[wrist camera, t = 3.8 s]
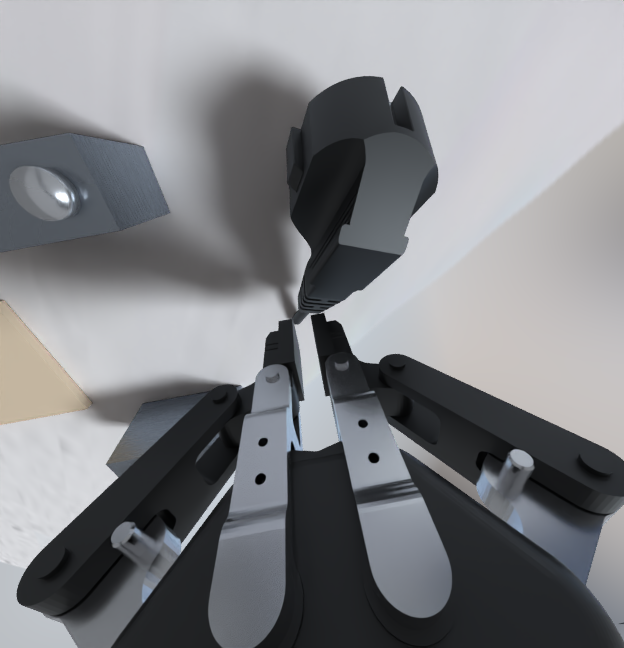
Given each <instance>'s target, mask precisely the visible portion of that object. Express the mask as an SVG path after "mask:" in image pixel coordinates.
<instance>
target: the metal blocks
mask: <svg viewBox="0 0 624 648" xmlns="http://www.w3.org/2000/svg"><path fill="white" fill-rule="evenodd" d="M169 213H170V211H169V208H168V206H167V203H166V201H165V199H164V196H163V194H162V191H161V189H160V186H159V184H158V181H157V179H156V177H155V174H154V172H153V169H152V167H151V164H150V162H149V160H148V157H147V155H146V152H145V150H144V147H142V146H137V145H132V144H126V143H121V142H116V141H110V140H105V139H100V138H94V137H89V136H84V135H78V134H73V133H65V134H59V135H54V136H48V137H43V138H37V139H32V140H26V141H21V142H15V143H10V144H4V145H0V252H5V251H11V250H16V249H22V248H27V247H33V246H38V245H44V244H49V243H55V242H60V241H66V240H71V239H77V238H82V237H88V236H93V235H98V234H104V233H109V232H115V231H120V230H123V229H126V228H129V227H132V226H134V225H137V224H140V223H143V222H146V221H149V220H151V219H154V218H157V217H160V216H163V215H166V214H169ZM236 388H237V390H240V389H242V387H241V386H236ZM209 392H210V391H209ZM209 392H204V393H198V394H193V395H187V396H182V397H176V398H171V399H165V400H160V401H155V402H149V403H144V404H142V406H141V408H140V409H139V411H138V412H137V414H136V416H135V417H134V419H133V421H132V422H131V424H130V426H129V427H128V429H127V430H126V432H125V434H124V435H123V437H122V439H121V440H120V442H119V444H118V445H117V447H116V448H115V450H114V452H113V453H112V455H111V457H110V458H109V460H108V462H107V463H106V465H107V466H108V467H109V468H110V469H111V470H112V471H113V472H114V473H115V474H116V475H117V476H118V477H120V476H121V475H122V474H123V473H124V472H125V471H126V470H127V469H128V468H129V467H130V466H131V465H132V464H133V463H135V462H136V461H137V460H138V459H139V458H140V457H141V456H142V455H143V454H144V453H145V452H146V451H147V450H148V449H149V448H150V447H151V446H152V445H154V444H155V443H156V442H157V441H158V440H159V439H160V438H161V437H162V436H163V435H164V434H165V433H166V432H167V431H168V430H169V429H170V428H172V427H173V426H174V425H175V424H176V423H177V422H178V421H179V420H180V419H181V418H182V417H183V416H184V415H185V414H186V413H187V412H188V411H189V410H191V409H192V408H193V407H194V406H195V405H196V404H197V403H198V402H199V401H200V400H201V399H202V398H203V397H204V396H205V395H206V394H207V393H209ZM218 437H219V435H218V434H217V435H216V436H215V437H214V438H213V439H212V441H211V442H210V443H209V444H208V445H207V446H206V447H205V448H204V450H203V451H202V452H201V453H200V454H199V456H198V458H197V460H196V462H197V461H198V460H199V459H200V458H201V457H202V455H203V454H204V453H205V452H206V451H207V450H208V449H209V447H210V446H211V445H212V444H213V443H214V442H215V440H216V439H217V438H218Z"/></svg>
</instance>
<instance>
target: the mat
mask: <svg viewBox="0 0 624 648" xmlns="http://www.w3.org/2000/svg"><path fill="white" fill-rule="evenodd" d="M91 404H92V402H91V401H90V400H89V398H88V397H87V396H86V395H85V394H84V393H83V391H82V390H81V389H80V388H79V387H78V386H77V384H76V383H75V382H74V381H73V380H72V379H71V378H70V376H69V375H68V374H67V373H66V372H65V371H64V369H63V368H62V367H61V366H60V365H59V364H58V362H57V361H56V360H55V359H54V358H53V357H52V355H51V354H50V353H49V352H48V351H47V350H46V349H45V347H44V346H43V345H42V344H41V343H40V342H39V340H38V339H37V338H36V337H35V336H34V335H33V333H32V332H31V331H30V330H29V329H28V328H27V326H26V325H25V324H24V323H23V322H22V321H21V320H20V318H19V317H18V316H17V315H16V314H15V313H14V311H13V310H12V309H11V308H10V307H9V306H8V304H7V303H6V302H5V301H4V300H3V301H0V425H3V424H9V423H14V422H20V421H25V420H31V419H36V418H41V417H47V416H52V415H58V414H63V413H69V412H74V411H80V410H85V409H88V408H89V407H90V405H91Z"/></svg>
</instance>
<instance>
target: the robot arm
mask: <svg viewBox="0 0 624 648" xmlns="http://www.w3.org/2000/svg"><path fill="white" fill-rule="evenodd" d="M311 321H312V326H313V332H314V337H315V343H316V348H317V353H318V359H319V364H320V369H321V374H322V380H323V384H324V390H325V395H326V396H330V398H331V403H332V409H333V414H334V418H335V424H336V428H337V433H338V438H339V442H338V443H336V444H333V445H331V446H329V447H327V448H324V449H322V450H320V451H315V452H313V451H303V449H302V434H301V419H300V413H299V408H300V407H299V401H303V400H304V391H303V380H302V369H301V358H300V350H299V344H298V340H297V335H296V331H295V326H294V322H293V319H288V320H283V321H279V329H278V331H274V332H270V334H269V335H268V336H267V338H266V343H265V353H264V363H263V369H262V370H261V371H260V372H259V373H258V374H257V376H256V380H255V382H254V383H253V384H251V385H249V386H247V387H245V388H242V389H240V390H237V388H236V387H235V386H233V385H221V386H218V387H216V388H214V389H212V390H211V391H210V392H209V393H207V394H206V395H205V396H204V397H203V398H202V399H201V400H200V401H199V402H198V403H197V404H196V405H195V406H194V407H193V408H192V409H191V410H189V411H188V412H187V413H186V414H185V415H184V416H183V417H182V418H181V419H180V420H179V421H178V422H177V423H176V424H175V425H174V426H173V427H172V428H170V429H169V430H168V431H167V432H166V433H165V434H164V435H163V436H162V437H161V438H160V439H159V440H158V441H157V442H156V443H155V444H154V445H152V446H151V447H150V448H149V449H148V450H147V451H146V452H145V453H144V454H143V455H142V456H141V457H140V458H139V459H138V460H137V461H136V462H135V463H133V464H132V465H131V466H130V467H129V468H128V469H127V470H126V471H125V472H124V473H123V474H122V475H121V476H120V477H119V478H118V479H117V480H116V481H114V482H113V483H112V484H111V485H110V486H109V487H108V488H107V489H106V490H105V491H104V492H103V493H102V494H101V495H100V496H99V497H98V498H97V499H95V500H94V501H93V502H92V503H91V504H90V505H89V506H88V507H87V508H86V509H85V510H84V511H83V512H82V513H81V514H80V515H79V516H78V517H76V518H75V519H74V520H73V521H72V522H71V523H70V524H69V525H68V526H67V527H66V528H65V529H64V530H63V531H62V532H61V533H60V534H58V535H57V536H56V537H55V538H54V539H53V540H52V541H51V542H50V543H49V544H48V545H47V546H46V547H45V548H44V549H43V550H42V551H41V552H40V553H39V554H38V555H37V556H36V557H35V558H34V560H33V561H32V562H31V563H30V565H29V566H28V568H27V569H26V571H25V572H24V574H23V576H22V578H21V580H20V583H19V585H18V589H17V600H18V602H19V603H20V604H21V605H23V606H25V607H28V608H31V609H33V610H36V611H39V612H41V613H43V614H44V616H46V617H47V618H50V619H52V620H55V621H58V622H61V623H63V624H64V625H65V627H66V629H67V630H68V632H69V634H70V635H71V637H72V639H73V640H74V642H75V643H76V645H77V647H78V648H624V641H623V639H622V637H621V636H620V634H619V632H618V631H617V629H616V627H615V625H614V623H613V622H612V620H611V618H610V617H609V616H608V614H607V612H606V611H605V610H604V608H603V607H602V605H601V604H600V602H599V601H598V600H597V599H596V598H595V596H594V595H593V594H592V593H591V591H590V590H589V589H588V588H587V587H586V582H587V579H588V575H589V572H590V568H591V564H592V561H593V557H594V553H595V550H596V547H597V543H598V539H599V535H600V532H601V529H602V526H603V525H604V524H605V523H606V522H607V521H608V520H609V519H610V518H611V517H612V516H613V515H614V514H615V512H617V510H619V509H620V508H621V507H622V505H624V461H623V460H622V459H621V458H620V457H618V456H617V455H616V454H614V453H612V452H611V451H609V450H608V449H606V448H604V447H602V446H599V445H598V444H595V443H593V442H591V441H589V440H587V439H584V438H582V437H580V436H578V435H576V434H574V433H572V432H569V431H567V430H565V429H563V428H561V427H559V426H557V425H554V424H552V423H550V422H548V421H546V420H544V419H541V418H539V417H537V416H535V415H533V414H530V413H528V412H526V411H524V410H522V409H520V408H518V407H515V406H513V405H511V404H509V403H507V402H504V401H502V400H500V399H498V398H496V397H494V396H491V395H490V394H487V393H485V392H483V391H481V390H479V389H476V388H474V387H472V386H470V385H468V384H466V383H464V382H461V381H459V380H457V379H455V378H453V377H451V376H449V375H446V374H444V373H442V372H440V371H437V370H436V369H433V368H431V367H429V366H427V365H425V364H422V363H420V362H418V361H416V360H414V359H412V358H410V357H407V356H405V355H400V354H391V355H387V356H385V357H384V358H382V359H381V360H380V362H379V364H370V363H364V362H361V361H359V360H358V359H357V357H356V356H355V355H353V353H352V351H351V348H350V346H349V343H348V340H347V338H346V335H345V332H344V330H343V327H342V325H341V324H340V323H339V322H337V321H336V320H334V321H329V322H327V321H326V318H325V315H324V313H321V314H315V315H311ZM388 423H389V424H390V425H392V426H393V427H395V428H396V429H397V430H399V431H400V432H401V433H403V434H404V435H406V436H407V437H408V438H410V439H411V440H413V441H414V442H415V443H417V444H418V445H420V446H421V447H422V448H424V449H425V450H427V451H428V452H429V453H431V454H432V455H434V456H435V457H437V458H438V459H439V460H441V461H442V462H444V463H445V464H446V465H448V466H449V467H451V468H452V469H453V470H455V471H456V472H458V473H459V474H461V475H462V476H463V477H465V478H466V479H467V480H469V481H470V482H472V483H473V484H474V485H476V486H477V491H478V494H479V496H480V498H481V500H482V501H483V503H484V504H485V505H486V507H487V508H488V509H489V510H488V509H486V508H485V507H484V506H482V505H481V504H479V503H478V502H477V501H475V500H474V499H472V498H471V497H469V496H468V495H467V494H465V493H464V492H462V491H461V490H460V489H458V488H457V487H456V486H454V485H453V484H451V483H450V482H449V481H447V480H446V479H444V478H443V477H441V476H440V475H439V474H437V473H436V472H435V471H433V470H432V469H430V468H429V467H428V466H426V465H425V464H423V463H422V462H420V461H419V460H417V459H416V458H415V457H413V456H412V455H410V454H409V453H407V452H405V451H403V450H401V449H399V448H398V446H397V443H396V441H395V439H394V436H393V434H392V431H391V429H390V427H389V424H388ZM217 434H218V435H219V437H218V438H217V439H216V440H215V442H214V443H213V444H212V445H211V446H210V447H209V449H208V450H207V451H206V452H205V453H204V454H203V455H202V457H201V458H200V459H199V460H198V461H197V462H196V460H197V458H198V456H199V454H200V453H201V452H202V451H203V450H204V448H205V447H206V446H207V445H208V444H209V443H210V442H211V441H212V439H213V438H214V437H215V436H216V435H217ZM235 470H236V472H235V479H234V484H233V485H232V486H231V487H230V489H229V490H228V491H227V493H226V494H225V495H224V496H223V498H222V499H221V500H220V502H219V503H218V504H217V506H216V507H215V508H214V510H213V511H212V512H211V514H210V515H209V516H208V518H207V519H206V520H205V522H204V523H203V524H202V526H201V527H200V528H199V530H198V531H197V532H196V534H195V535H194V536H193V538H192V539H191V540H190V542H189V543H188V544H187V546H186V547H185V549H184V550H183V551H182V552H181V543H182V542H183V541H184V539H185V538H186V537H187V535H188V534H189V533H190V531H191V530H192V528H193V527H194V525H195V524H196V523H197V522H198V520H199V519H200V517H201V516H202V515H203V513H204V512H205V511H206V509H207V507H208V506H209V505H210V504H211V502H212V501H213V500H214V498H215V497H216V495H217V494H218V493H219V492H220V490H221V489H222V487H223V486H224V485H225V483H226V482H227V481H228V479H229V478H230V476H231V475H232V474H233V472H234V471H235ZM180 552H181V554H180Z"/></svg>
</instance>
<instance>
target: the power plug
mask: <svg viewBox="0 0 624 648" xmlns="http://www.w3.org/2000/svg"><path fill="white" fill-rule="evenodd" d="M286 154H287V183H288V185H289V189H290V216H291V219H292V222H293V223H294V225H295V227H296V228H297V230H298V231H299V232H300V234H301V235H302V236H303V237H304V239H305V240H306V241H307V243H308V244H309V246H310V248H311V257H310V259H309V261H308V263H307V266H306V269H305V272H304V276H303V281H302V283H301V287H300V291H299V294H298V309H299V310H298V311H297V312H296V314H295V315H294V316H293V318H292V319H293V322H294V324H300V323H301V322H302V321H303V319H304V318H305V317H306V316H307V315H308V314H309V313H317V314H318V313H321V312H323V311H324V310H327V309H329V308H330V307H332V306H334V305H335V304H338V303H340V302H341V301H343V300H345V299H346V298H347V297H348V296H350V295H351V294H352V293H353V292H355V291H357V290H363V289H364V288H365V287H366V286H367V285H369V284H370V283H371V282H372V281H373V280H374V279H375V278H377V277H378V276H379V275H380V274H381V273H382V272H383V271H384V270H386V269H387V268H388V267H389V266H390V265H391V264H392V263H394V262H395V261H396V260H397V259H398V258H399V257H400V256H401V255H403V253H404V252H405V250H406V247H407V244H408V240H409V239H408V237H405V236H404V234H405V232H406V229H407V226H408V223H409V220H410V218H411V217H412V216H413V215H414V214H415V212H416V211H417V210H418V209H419V208H420V207H421V206H422V205H423V204H424V203H425V202H426V201H427V200H428V199H429V198H430V197H431V196H432V195H433V194H434V193H435V191H436V187H437V183H438V168H437V164H436V161H435V157H434V154H433V151H432V147H431V144H430V140H429V137H428V133H427V130H426V127H425V123H424V120H423V116H422V113H421V110H420V108H419V105H418V104H417V102H416V100H415V98H414V97H413V96H412V95H411V94H410V92H408V91H407V90H406V89H405V88H404V87H400V89H399V91H398V93H397V95H396V96H395V98H394V100H393V102H392V103H391V102H389V100H388V95H387V91H386V87H385V83H384V79H383V78H381V77H374V76H362V77H355V78H351V79H347V80H344V81H341V82H339V83H336V84H334V85H332V86H331V87H329V88H327V89H325V90H324V91H323V92H321V93H320V94H318V95H317V96H316V97H315V98H314V99H313V100H312V101H311V102H310V103H309V104H308V108H307V111H306V114H305V118H304V121H303V125H302V128H301V129H298V128H295V127H292V128H291V132H290V136H289V140H288V144H287V148H286Z"/></svg>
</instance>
